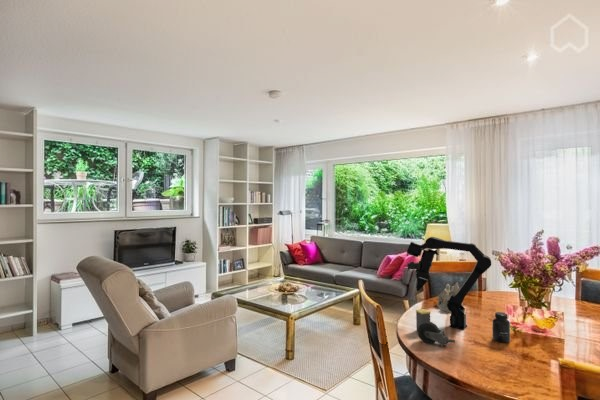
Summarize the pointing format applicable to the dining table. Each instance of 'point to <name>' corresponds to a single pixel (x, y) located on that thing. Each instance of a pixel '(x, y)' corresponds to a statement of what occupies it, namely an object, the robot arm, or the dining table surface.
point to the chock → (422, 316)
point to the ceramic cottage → (446, 296)
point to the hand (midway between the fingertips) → (417, 289)
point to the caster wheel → (432, 334)
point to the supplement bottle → (501, 328)
